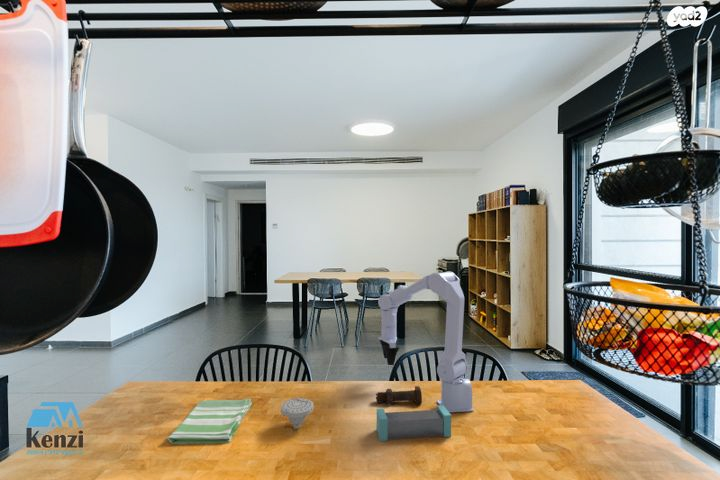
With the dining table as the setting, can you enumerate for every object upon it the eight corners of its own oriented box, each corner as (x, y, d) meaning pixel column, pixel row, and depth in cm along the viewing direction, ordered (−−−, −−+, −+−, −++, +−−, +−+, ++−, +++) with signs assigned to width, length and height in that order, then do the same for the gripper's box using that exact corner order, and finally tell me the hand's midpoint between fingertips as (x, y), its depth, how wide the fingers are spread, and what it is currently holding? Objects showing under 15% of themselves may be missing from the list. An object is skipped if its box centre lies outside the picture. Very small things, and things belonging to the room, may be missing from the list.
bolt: (376, 407, 121) (420, 405, 121) (376, 406, 116) (422, 404, 117) (375, 388, 124) (418, 387, 124) (375, 386, 119) (420, 385, 119)
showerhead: (272, 406, 102) (293, 392, 111) (272, 431, 102) (293, 416, 111) (300, 413, 98) (319, 398, 107) (300, 439, 98) (319, 422, 107)
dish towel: (252, 404, 119) (252, 396, 119) (231, 445, 96) (231, 434, 96) (198, 406, 118) (198, 397, 118) (163, 447, 95) (163, 437, 95)
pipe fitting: (443, 425, 105) (443, 405, 105) (451, 436, 99) (451, 415, 99) (376, 429, 103) (376, 408, 103) (380, 441, 97) (380, 419, 97)
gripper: (375, 321, 142) (375, 355, 142) (381, 330, 128) (381, 368, 128) (392, 321, 143) (392, 354, 143) (401, 330, 129) (401, 367, 129)
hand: (388, 361), depth 136 cm, fingers open, 7 cm apart
